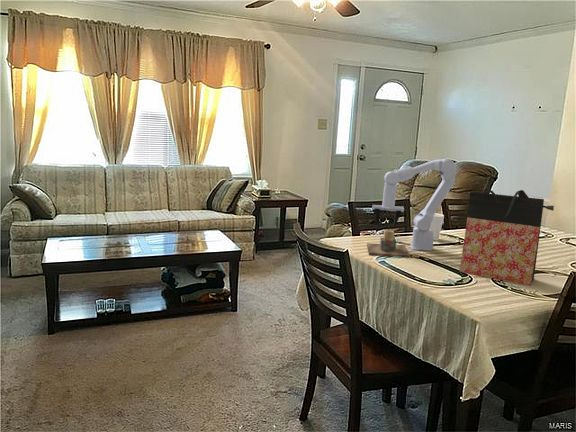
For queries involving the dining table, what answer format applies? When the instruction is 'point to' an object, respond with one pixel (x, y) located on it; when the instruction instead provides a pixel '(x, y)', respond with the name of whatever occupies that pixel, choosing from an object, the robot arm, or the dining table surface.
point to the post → (388, 235)
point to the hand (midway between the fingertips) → (386, 225)
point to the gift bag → (502, 236)
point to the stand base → (387, 249)
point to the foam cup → (436, 225)
